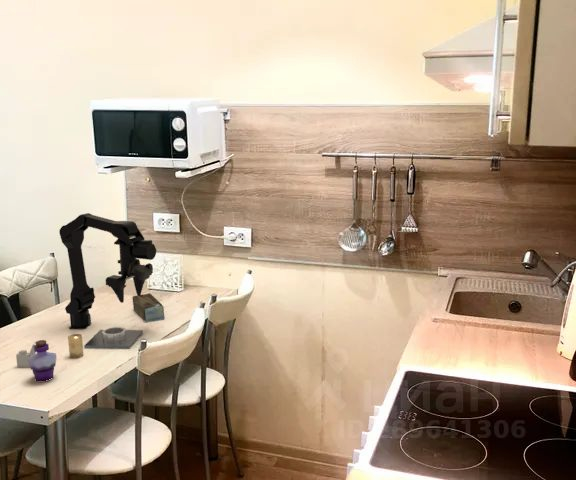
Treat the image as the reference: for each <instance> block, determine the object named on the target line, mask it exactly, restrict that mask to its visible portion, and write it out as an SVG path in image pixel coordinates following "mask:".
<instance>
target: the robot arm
mask: <svg viewBox="0 0 576 480" xmlns="http://www.w3.org/2000/svg"><path fill="white" fill-rule="evenodd" d="M89 228H92V229H95V230H100V231H104V232H107V233H110V234H111V235H112V236H113V237H114V238H116V240H115V241H114V242H113V244H114V245H116V246H117V245H118V247H119V249H118V250H119V259H118V260H117V264H119V265H120V270H119V271H117V272H118V275H116V274H113V275H110V276H108V277H105V286H108V287H110V288H111V289H112V290H113V292H114V293H115V296H116V297H117V299H118V301H119V302H120V303H121V304H123V303H124V300H125V296H124V295H125V288H126V287H127V284H126V283H127V280H130V279H132V280H133V284H134V288H135V293H136V296H140V295H142V291H143V288H144V284H145V282H146V281H147V280H148V279H150V277H151V276H152V275H153V273H154V271H153V270H154V267H153V264H152V263H150V262H149V263H147V264H146V263H145V264H142V263H141V261H140V260H147V261H148V260H149V261H151V260H153V259H155V257H156V255H157V248H156V246H155V244H154V243H153V240H151V239H149V240H148V239H147V240H145V237H144V235H143V234H142V232H141V231H140V229H139V227H138V225H137V223H136V222H135V221H131V220H113V219H109V218H105V217H102V216H98V215H94V214H92V213H89V212H88V213H84V214H83V213H82V214H79V215H78V216H77V217H76V218H75V219H73V220H71V221H70V222H68V223H67V224H64V225H62V226H60V229H59V237H60V240H61V243H62V244H63V246H65V248H66V250H67V255H68V261H69V262H68V263H69V268H70V274H71V279H72V281H71V282H72V288H71V291H70V295H69V296H70V302H69V303H68V304H67V305H66V306H65V308H64V310H65V311H66V312H65V313H66V314H69V319H70V320H69V321H70V326H69V327H68V329H69V330H70V329H71V330H86V329H87V328H88V327H90V325H92V319H91V316H92V315H91V313H90V311H89V310H90V309H92V308H93V304H94V303H95V298H96V295H95V289H94V287H90V285H89V284H88V283H87V282H88V281H87V276H86V269H85V263H84V257H83V249H82V247H83V242H84V238H85V232H86V230H88V229H89Z"/></svg>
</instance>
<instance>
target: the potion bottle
mask: <svg viewBox="0 0 576 480" xmlns="http://www.w3.org/2000/svg"><path fill="white" fill-rule="evenodd" d="M35 342H36V345H35V346H34V351H35V352H36V353H35V354H34V355H32V356H30V357H28V362H29V365H30V367H29V368H30V370H31V371H32V373H33V376H34V380H35V379H36V381H35V382H37V381H45V382H47V381H46V380H49V379H51V378H53V379H54V372H55V367H56V363H57V353H55V352H50V351H48V350H50V347H49V343H47V340H45V339H40V340H37V341H35ZM51 380H52V379H51ZM49 381H50V380H49Z"/></svg>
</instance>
